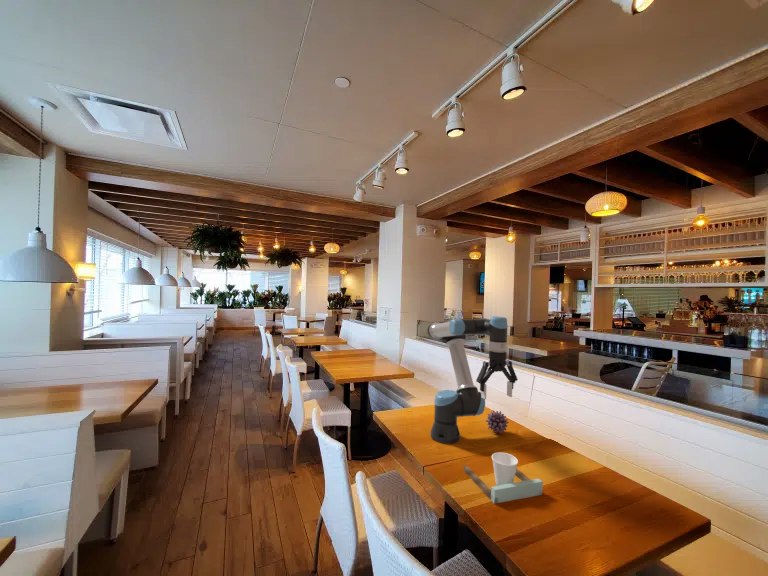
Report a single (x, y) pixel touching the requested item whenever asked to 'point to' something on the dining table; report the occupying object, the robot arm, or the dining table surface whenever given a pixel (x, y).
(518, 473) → the channel
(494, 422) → the flower
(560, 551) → the dining table surface
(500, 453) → the cup
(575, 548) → the dining table surface
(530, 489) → the block
